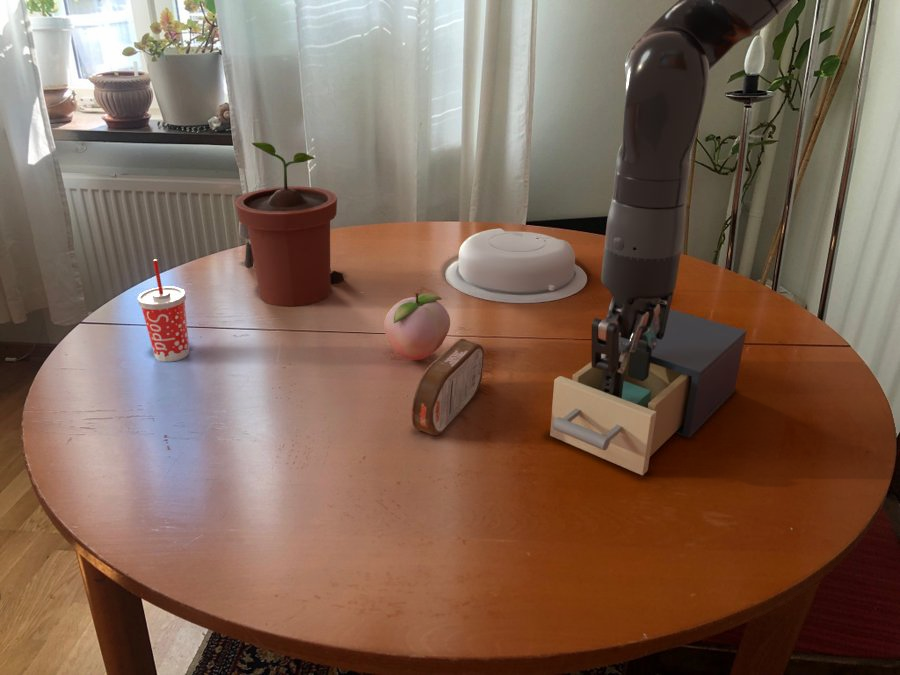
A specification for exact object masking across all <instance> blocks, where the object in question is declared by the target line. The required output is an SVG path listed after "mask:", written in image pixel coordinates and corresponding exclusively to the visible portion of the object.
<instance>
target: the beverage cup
mask: <svg viewBox="0 0 900 675" xmlns="http://www.w3.org/2000/svg"><path fill="white" fill-rule="evenodd" d="M152 262H153V267H154V274H155V277H156V284H157V287H153V288H150V289H147V290H144V291H142V292H141V293H139V294H138V296H137V298H136V300H137V302H138V306H139V308H141V310H142V315H143V318H144V322H145V326H146V329H147V330H146V331H147V333H148V337H149V340H150V344H151V348H152V351H153V356H154V359H155V360H157V361H159V362H165V363H169V362H170V363H172V362H176V361H180V360H182V359H183V360H184V359H185V358H186V357H187V356H189V354H190V342H189V332H188V324H187V312H186V303H185V302H186V300H187V297H186V295H187V294H186V291H185V289H183V288H181V287H178V286H171V285H170V286H162V281H161V275H160V274H161V273H160V268H159V263H158V259H157V258H155V259H153V261H152Z"/></svg>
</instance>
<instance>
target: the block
mask: <svg viewBox="0 0 900 675" xmlns="http://www.w3.org/2000/svg"><path fill="white" fill-rule="evenodd" d="M650 397H651V390H648V389H645V388H642V387H640V386H637V385H634V384H631V383H628V382H626V381H624V383H623V391H622V398H621V399H624V400H627V401H629V402H632V403H635V404H637V405H640V406H643V407H645V408H648V405H649V402H650Z"/></svg>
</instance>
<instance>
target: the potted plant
mask: <svg viewBox="0 0 900 675" xmlns="http://www.w3.org/2000/svg"><path fill="white" fill-rule="evenodd" d="M251 144H252V146H254V147H256V148H258V149H259V150H261V151H262V152H265V153H267V154H268V155H270V156H272V157H275V158H277V159H278V160H280V161H281V162H282V164H283V186H274V187H267V188H261V189H257V190H253V191H249V192H246V193H244V194H242V195H240V196H238V197H237V199H235V201H234V204H235V208H236V212H237V216H238V221H239V222H238V235H239V237H240V239H242V240H249V241H247V242H246V244H245V256H244V257H245V258H244V266H245V268H248V269H252V268H253V267H254V270H255V274H256V280H257V286H258V291H259V296H260V299H261V300H262V301H263V302H265V303H267V304H269V305H273V306H279V307H300V306H307V305H311V304H315V303H317V302H319V301H322V300H324V299H325V298H326V297H328V296H329V295H330V293H331V284H339V283H340V284H341V283H343V282H345V277H344V275H343V273H342V272H340V271H336V270H332V272H331V221H332V220H334V219H335V218H336V216H337V214H338V213H337V211H338V196H337V195H336V193H334V192H333V191H331V190H328V189H324V188H320V187H315V186H305V185H304V186H301V185H300V186H299V185H298V186H297V185H296V186H295V185H294V186H293V185H290V186H289V185H288V172H287V170H288V169H287V168H288V167H289V166H290V165H292V164H298V163H305V162H308V161H311V160H314V159H316V157H314V156H312V155H310V154H308V153H305V152H297V153H295V154H294V155H293V161H292V160H291V161H288V162H286V160H285V158H284V157H283V156H281V155H279V154H277V153H276V148H275V147H274V145H273V144H271V143H270V142H269V143H268V142H251Z"/></svg>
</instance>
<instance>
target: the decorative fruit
mask: <svg viewBox="0 0 900 675" xmlns="http://www.w3.org/2000/svg"><path fill="white" fill-rule="evenodd" d="M442 300H443V298H442V297H441V296H439V295H437V294H436V293H431V292H426V293H422V294H419V293H415V296H412V297H406V298H403V299H402V300H400V301H398V302H396V303H395V304H394V305H393V306H392V307H391V308H390V309H389V310H388V312H387V313H386V316H385V319H384V323H383V328H384V329H383V330H384V334H385V336H386V339H387V342H388V343H389V345H390V346H391V347H392V349H393V350H394V351H395V352H396V353H397V354H398V355H399V356H401V357H403V358H405V359H408V360H412V361H422V360H424V359H427V358H428V357H430V356H431V355H432V354H433V353H435V352H436V351H437V350H438V349H439V348H440V347H441V346H442V345H443V343H444V342H445V340H446V337H447V336H448V333H449V331H450V327H451V318H450V315H449V313H448V311H447V309H446V308H445V306H444V305H443V304H441V303H440V302H439V301H442Z"/></svg>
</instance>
